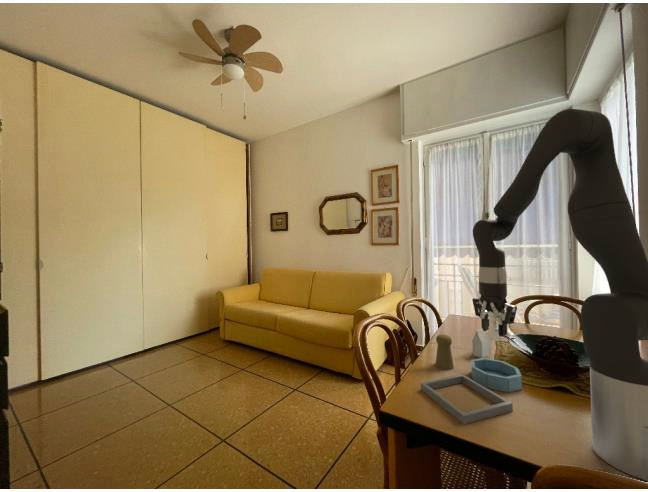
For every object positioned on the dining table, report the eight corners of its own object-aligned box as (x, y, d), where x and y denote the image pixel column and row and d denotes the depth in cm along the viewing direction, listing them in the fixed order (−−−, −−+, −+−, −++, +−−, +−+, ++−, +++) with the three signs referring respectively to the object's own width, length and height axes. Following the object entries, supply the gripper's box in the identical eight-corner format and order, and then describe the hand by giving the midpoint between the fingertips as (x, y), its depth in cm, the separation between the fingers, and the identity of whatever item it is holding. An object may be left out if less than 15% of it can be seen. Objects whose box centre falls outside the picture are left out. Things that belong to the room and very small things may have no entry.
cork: (456, 370, 87) (455, 338, 87) (437, 369, 88) (436, 338, 88) (451, 362, 93) (450, 333, 93) (433, 361, 94) (433, 332, 94)
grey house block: (491, 354, 100) (490, 329, 100) (482, 358, 96) (481, 332, 96) (481, 351, 103) (480, 326, 103) (472, 355, 99) (471, 329, 99)
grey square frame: (512, 410, 65) (512, 403, 65) (464, 424, 60) (463, 416, 60) (462, 380, 80) (462, 374, 80) (420, 389, 76) (420, 382, 76)
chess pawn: (483, 338, 80) (482, 310, 80) (486, 334, 84) (485, 307, 84) (502, 342, 77) (501, 313, 77) (504, 337, 81) (503, 309, 81)
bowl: (531, 386, 76) (530, 373, 76) (499, 394, 72) (498, 380, 72) (491, 367, 88) (491, 356, 88) (462, 373, 85) (462, 361, 85)
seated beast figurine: (490, 335, 120) (489, 310, 121) (491, 330, 127) (490, 307, 127) (514, 339, 115) (513, 313, 115) (514, 334, 122) (513, 309, 122)
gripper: (524, 282, 75) (525, 339, 75) (481, 277, 89) (482, 325, 88) (505, 284, 73) (507, 342, 73) (464, 279, 86) (466, 327, 86)
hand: (493, 333), depth 80 cm, fingers closed on chess pawn, 5 cm apart
